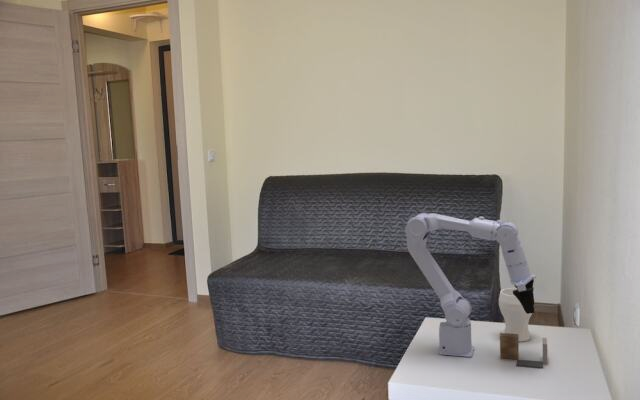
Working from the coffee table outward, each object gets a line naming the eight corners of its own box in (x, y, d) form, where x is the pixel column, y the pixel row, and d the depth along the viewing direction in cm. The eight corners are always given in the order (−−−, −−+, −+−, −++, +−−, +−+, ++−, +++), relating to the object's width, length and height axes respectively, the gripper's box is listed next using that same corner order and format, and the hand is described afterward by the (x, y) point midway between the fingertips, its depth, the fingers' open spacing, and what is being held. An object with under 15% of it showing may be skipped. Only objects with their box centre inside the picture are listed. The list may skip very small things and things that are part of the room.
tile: (542, 364, 154) (542, 344, 153) (542, 357, 159) (542, 337, 158) (547, 364, 154) (547, 344, 153) (547, 358, 158) (546, 338, 158)
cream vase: (530, 345, 168) (530, 298, 166) (495, 340, 174) (494, 294, 172) (537, 334, 177) (536, 289, 175) (504, 330, 183) (503, 286, 181)
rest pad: (516, 366, 154) (516, 364, 154) (516, 360, 158) (516, 359, 157) (543, 368, 151) (543, 367, 151) (542, 362, 155) (542, 361, 155)
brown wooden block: (500, 358, 159) (499, 335, 159) (500, 355, 162) (500, 332, 161) (518, 360, 158) (518, 337, 157) (518, 357, 160) (518, 334, 159)
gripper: (530, 265, 148) (545, 313, 148) (531, 255, 161) (544, 299, 161) (504, 271, 151) (519, 318, 150) (506, 261, 164) (520, 304, 164)
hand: (530, 309), depth 156 cm, fingers open, 7 cm apart
